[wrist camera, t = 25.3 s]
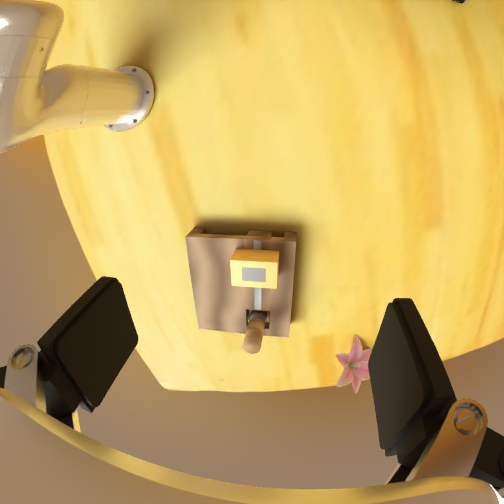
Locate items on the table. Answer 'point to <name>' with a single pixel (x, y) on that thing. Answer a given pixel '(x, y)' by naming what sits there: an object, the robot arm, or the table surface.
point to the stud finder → (255, 268)
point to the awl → (254, 331)
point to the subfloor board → (237, 297)
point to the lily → (354, 365)
